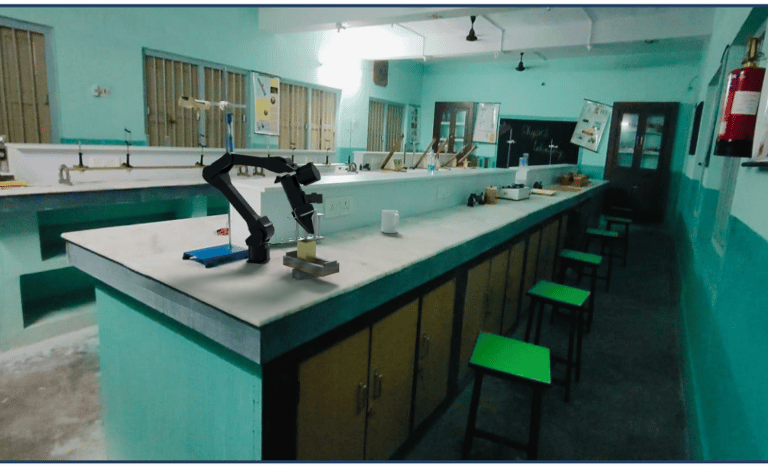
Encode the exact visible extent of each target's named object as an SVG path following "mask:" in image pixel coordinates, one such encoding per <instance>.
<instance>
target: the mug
mask: <svg viewBox="0 0 768 467" xmlns="http://www.w3.org/2000/svg"><path fill="white" fill-rule="evenodd" d="M400 218H401V217H400V215H399V210H397V209H381V224H380V226H381V232H382V233H385V234H396V233H397V232H398V225H399V223H400Z"/></svg>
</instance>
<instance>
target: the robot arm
mask: <svg viewBox="0 0 768 467" xmlns="http://www.w3.org/2000/svg"><path fill="white" fill-rule="evenodd" d="M235 165H236V166H237V165H239V166H245V167H246V166H247V167H254V168H261V169H264V170H267V171H269V172H272V173H275V174H279V175H276V176H275V179H274V181H273V184H275V185H276V184H281V185H280V186H282V187H281V188H282V189H283V191H284V194H285V196H286V200H287V201H288V203H289V205H290V208H291V212H290V214H291V215H292V217H293V218H292V219H293V220H294V221H295V220H296V222H297V223H298V224H299V227H300V226H301V228H302V229H303V231H304V230H305V231H306V232H307V233H308V235H313V234H314V227H313V213H314V211H313V210H314V209H315V207H314V205H313V204H318V205H319V204H323V203H324V200H323V198H324V197H323V193H317V192H315V191H313V192H310V193H309V194H308V193H306V192H305V191H304V190H303V188H302V186H303V187H308V186H309V185H312V184H314V183H315V184H316V182H319V181H321V179H322V177H321V176H322V175H321V172H320V171H319V169H318V168H317V166H316V165H315V164H314V162H313V161H308V162H306V163H305V164H303V165H301V166H299V165H298V164H296V163H295V162H293V159H292V158H291V157H290V156H288V155H277V156H276V155H275V156H261V155H254V154H245V153H239V152H235V151H231V152H230V151H228V152H225V153H224V154H223V155H222V156H220V157H219V158H218V159H216V160H215V161H213V162H211V163H210V164H209V165H206V166H204V167H203V169H202V172H201V176H202V178H203V180H204V181H205V182H206V183H207V184H209V186H211V187H213V188H214V189H216V190H218V191H219V192H220V193H221V194H222V195H223V196H224V198H225V199H226V200H227V201H228V202H229V204H230V205H231V206H232V207H233V209H234V210H235V211H236V212H237V213H238V214H239V215H240V217H241V219H243V220H244V221H245V223H246V226H247V230H248V232H249V233H250V235H249V236H248V237H247V238H245V239H244V242H245V244H246V247H247V254H248V255H247V256H248V258H247V260H246V261H245V262H246V263H255V264H265V263H267V262H268V261H270V260H271V256H270V255H271V254H270V252H271V251H270V250H271V249H270V247H269V243H267V242H269V241H271V239H272V236H273V235H275V226H273V223H272V221H271V219H269V218H268V217H269V216H267V215H263V216H261V215H258V213H257V212H256V211H255V210H254V208H253V207H252V206H251V205H250V204H249V202H248V201H247V200H246V198H245V197H243V195H242V194H241V192H240V191H238V189H237V188H236V187H235V185H234V184H233V183H232V179H231V175H230V173H229V172H231V171H232V169H233V168H234V166H235ZM285 173H286V174H285ZM292 173H294V174H292ZM281 174H284V175H281ZM291 174H292V175H291ZM301 185H302V186H301ZM294 217H296V218H294Z"/></svg>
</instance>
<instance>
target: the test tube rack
mask: <svg viewBox="0 0 768 467" xmlns="http://www.w3.org/2000/svg"><path fill="white" fill-rule="evenodd" d="M313 211H314V213H313V216H312V222H313V227H314V234H312V237H310V236H309V234H308V233H307V232H306V231H305V230H304V229H303V237H304V238H301V237H299V236H300V235H299V234H300V231H299V228H300V225H299V224H298V223H297V222H296V230H295V229H294V238H295V237H296V240H289V241H284V242H280V243H281V244H292V243H297V241H300V240H305V239H309V240H313V241H317V240H323V239H324V240H325V237H324V236H321V217H322V216H325V213H321V212H319V213H318V210H317V208H314V210H312V212H313ZM287 218H289V219H294V218H296V217H294V218H293V217H287ZM317 226H318V227H317ZM298 238H300V239H298ZM281 244H280V245H281Z"/></svg>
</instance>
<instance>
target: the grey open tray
mask: <svg viewBox="0 0 768 467" xmlns="http://www.w3.org/2000/svg"><path fill="white" fill-rule="evenodd" d="M282 265H283V266H285V267H288V268H291V270H292V271H291V275H292V276H291V278H292V279H293V280H295V281H296V280H297V281H301V280H305V279H308V278H312V277H315V276H316V277H317V276H318V277H320V278H324V277H327V276H330V275H334V274H338V273H340V262H338V260H330V259H328V258H327V259H326V258H323V257H319V256H316V263H310V262H307V261H304V260H302V259H297V249H295V250H291V251H285V255H283V256H282Z"/></svg>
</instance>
